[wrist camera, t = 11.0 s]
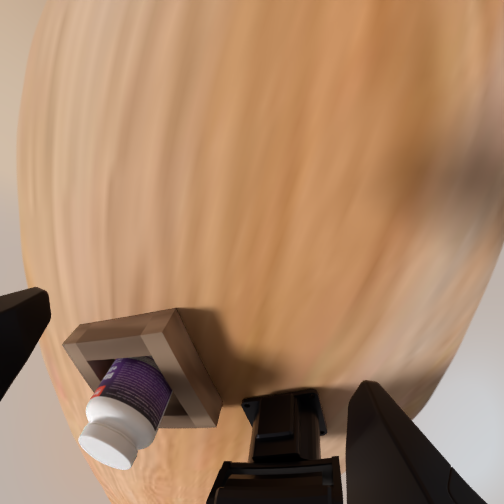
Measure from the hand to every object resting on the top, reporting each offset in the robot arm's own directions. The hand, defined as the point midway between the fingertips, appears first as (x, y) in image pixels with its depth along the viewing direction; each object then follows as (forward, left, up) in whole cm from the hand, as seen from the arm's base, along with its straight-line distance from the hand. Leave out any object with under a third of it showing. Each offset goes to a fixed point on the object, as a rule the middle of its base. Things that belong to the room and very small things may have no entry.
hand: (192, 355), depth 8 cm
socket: (-10, +12, -12) cm, 20 cm away
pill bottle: (-10, +12, -13) cm, 20 cm away
